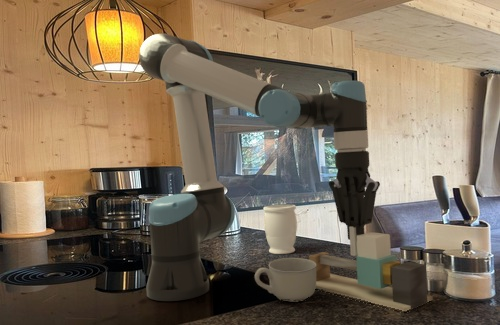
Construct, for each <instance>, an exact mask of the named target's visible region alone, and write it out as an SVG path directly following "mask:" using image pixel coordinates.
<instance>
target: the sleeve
mask: <svg viewBox="0 0 500 325" xmlns="http://www.w3.org/2000/svg"><path fill="white" fill-rule="evenodd" d="M391 248H392V247H391V234H388V233H382V232H381V233H380V232H372V231H370V232H366V233H364V234H362V235H357V251H358V256H355V258H356V261H357V271H356V275H357V277H356V278H357V280H358V284H361V285H365V286H370V287H374V288H378V289H382V288H385V287H388V286H389V287H391V285H389V284H385V283H383V267H382V264H385V263H388V262H391V261H398V260H397V255H396V254H391V253H392V252H391V251H392V250H391Z"/></svg>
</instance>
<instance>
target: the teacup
mask: <svg viewBox="0 0 500 325" xmlns="http://www.w3.org/2000/svg"><path fill="white" fill-rule="evenodd" d="M316 267H317V264H316V263H315V262H314V261H312V260H309V258H308V259H307V258H303V257H283V258H277V259H274V260H272V261H270V262H269V263H268V266H267V267H259V268H258V269H257V270H256V271H255V272H254V273H255V274H254V281H255V282H256V284H257V285H258V286H260V287H261V288H262V289H264V290H267V292H268V293H269V294H273V296H276V298H277V299H278V300H280V301H281V299H290V300H295V299H305V298H308V297H309V298H310V297H311V296H313V294H314V293H315V291H316V290H315V289H316ZM262 273H265V274H266V275H267V277H268V279H269V285H268V284H266V283H264V282H263V281H261V279H260V276H261V274H262ZM309 298H308V299H309Z"/></svg>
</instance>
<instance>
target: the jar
mask: <svg viewBox="0 0 500 325" xmlns="http://www.w3.org/2000/svg"><path fill="white" fill-rule="evenodd" d="M296 208H297V207H296V205H295V204H285V203H284V204H281V203H280V204H271V205H266V206H263V211H264V212H265V213H264V217H263V218H264V219H263V220H264V221H263V226H264V232H265V237H266V240H267V241H266V242H267V244H268V246H269V247H270V248H269V249H268V252H269V253H270V254H272V255H273V254H275V255H287V254H291V253H294V252H295V251H296V248H295V247H294V245H295V243H296V239H297V230H298V228H297V227H298V222H297V216H296V213H295V210H296Z"/></svg>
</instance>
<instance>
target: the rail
mask: <svg viewBox="0 0 500 325" xmlns="http://www.w3.org/2000/svg"><path fill="white" fill-rule="evenodd" d="M308 260H312V261H314V262H315V263H316V264H317V267H316V288H319V289H323V290H326V291H330V292H334V293H337V294H341V295H345V296H349V297H353V298H357V299H361V300H365V301H368V302H371V303H375V304H379V305H383V306H387V307H391V308H395V309H399V310H402V311H407V310H409V309H412V308H415V307H417V306H419V305H422V304H424V303H427V302H429V301H431V300H433V301H434V298H433V295H429V294H428V286H427V269H426V268H427V267H426V264H423V263H417V262H412V261H406V262H404V263H402V262H401V261H398V260H397V261H391V262H388V263H385V264H382V267H383V283H385V284H389V285H390V286H388V287H385V288H382V289H378V288H374V287H370V286H365V285H361V284H358V279H356V278H352V277H347V276H344V275H339V274H334V273H331V269H330V268H331V267H335V268H339V269H340V268H341V269H346V270H351V271H356V272H357V260H355V259H351V258H350V259H349V258H345V257H339V256H333V255H330V253H329V252H324V251H322V252H319V253H315V254H310V255H309V256H308ZM427 304H428V303H427Z"/></svg>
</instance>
